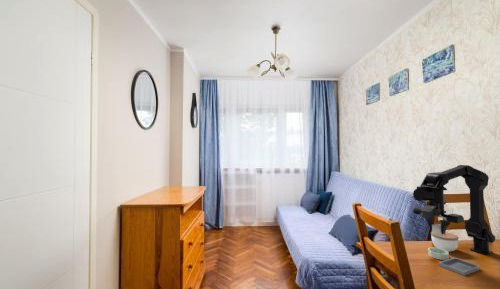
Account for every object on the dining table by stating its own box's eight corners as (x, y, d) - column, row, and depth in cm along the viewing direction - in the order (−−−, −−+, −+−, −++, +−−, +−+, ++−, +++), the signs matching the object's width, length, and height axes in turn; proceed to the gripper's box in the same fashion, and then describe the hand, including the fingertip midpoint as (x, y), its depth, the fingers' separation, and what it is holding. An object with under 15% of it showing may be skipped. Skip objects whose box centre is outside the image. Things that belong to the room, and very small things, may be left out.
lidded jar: (464, 255, 111) (463, 235, 111) (439, 253, 113) (438, 234, 113) (450, 246, 121) (449, 228, 122) (427, 244, 124) (426, 227, 124)
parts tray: (454, 261, 105) (454, 257, 105) (480, 270, 97) (480, 266, 97) (438, 266, 100) (438, 262, 101) (464, 276, 92) (464, 272, 92)
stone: (430, 233, 111) (430, 224, 111) (435, 232, 112) (435, 223, 112) (439, 236, 107) (439, 226, 107) (445, 235, 109) (444, 225, 109)
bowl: (434, 252, 114) (434, 246, 114) (452, 258, 107) (452, 252, 107) (424, 255, 111) (424, 249, 112) (442, 262, 104) (442, 255, 105)
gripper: (405, 197, 116) (406, 229, 115) (449, 205, 98) (450, 242, 98) (419, 195, 120) (420, 225, 119) (463, 202, 103) (465, 238, 102)
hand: (437, 232), depth 110 cm, fingers closed on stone, 4 cm apart
